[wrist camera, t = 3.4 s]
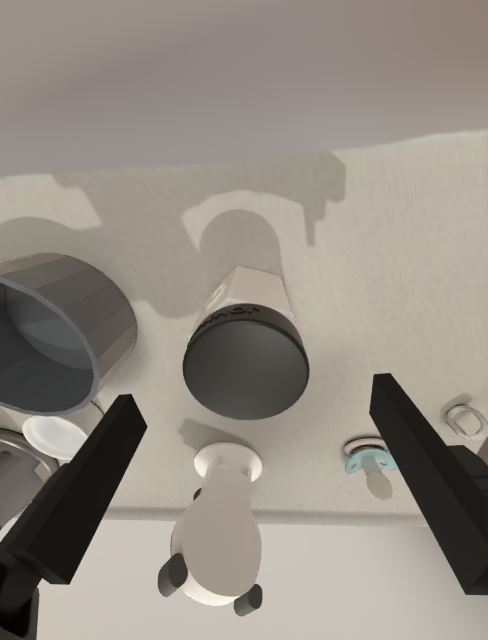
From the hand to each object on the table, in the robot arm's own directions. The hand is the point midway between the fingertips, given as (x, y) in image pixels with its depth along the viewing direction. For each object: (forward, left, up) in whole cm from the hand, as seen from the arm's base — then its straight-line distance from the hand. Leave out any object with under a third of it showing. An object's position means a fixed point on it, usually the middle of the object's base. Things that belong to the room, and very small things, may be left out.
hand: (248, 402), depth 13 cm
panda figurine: (-8, -28, -14) cm, 32 cm away
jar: (0, 0, -14) cm, 14 cm away
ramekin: (-28, -14, -14) cm, 35 cm away
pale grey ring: (+25, -19, -14) cm, 34 cm away
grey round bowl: (-21, +1, -14) cm, 26 cm away
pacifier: (+14, -26, -14) cm, 33 cm away
